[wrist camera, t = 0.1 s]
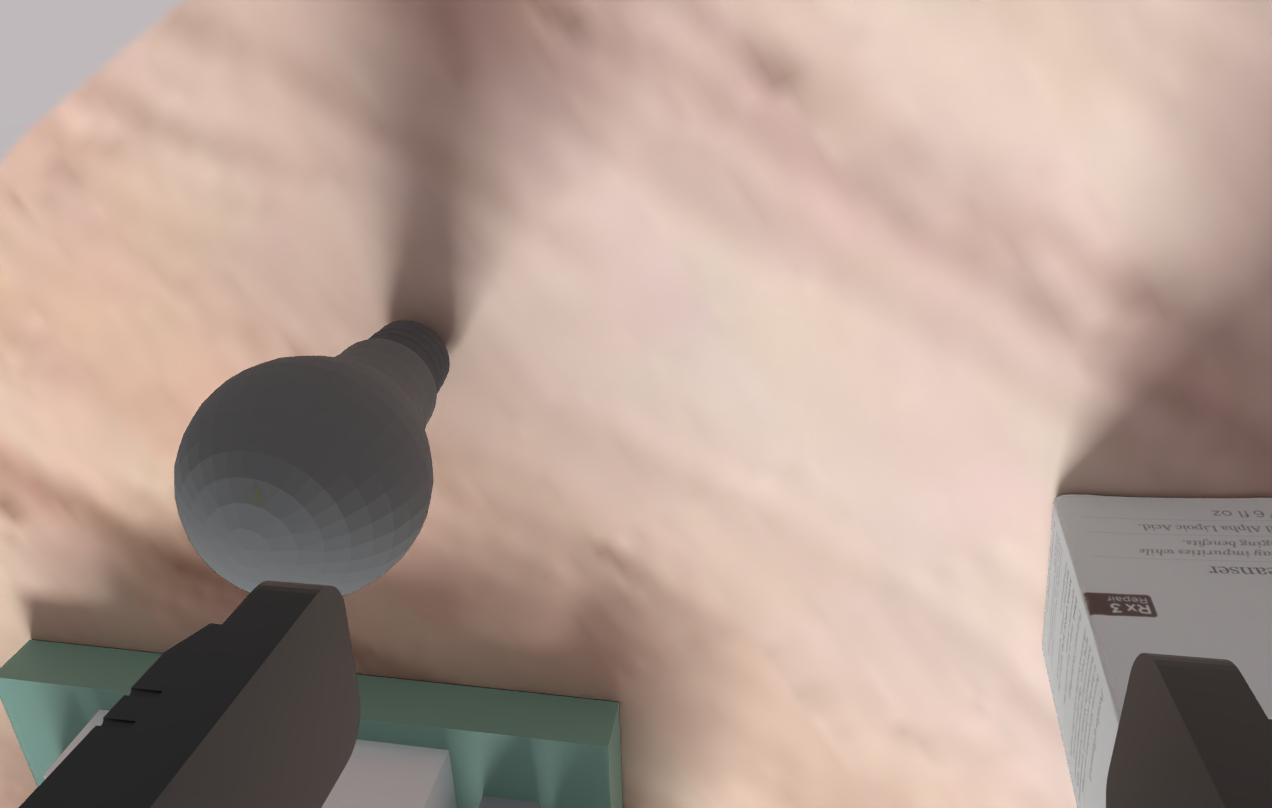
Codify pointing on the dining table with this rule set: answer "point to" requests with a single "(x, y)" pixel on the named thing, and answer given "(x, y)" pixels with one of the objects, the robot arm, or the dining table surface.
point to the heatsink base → (363, 734)
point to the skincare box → (1149, 607)
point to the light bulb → (314, 463)
